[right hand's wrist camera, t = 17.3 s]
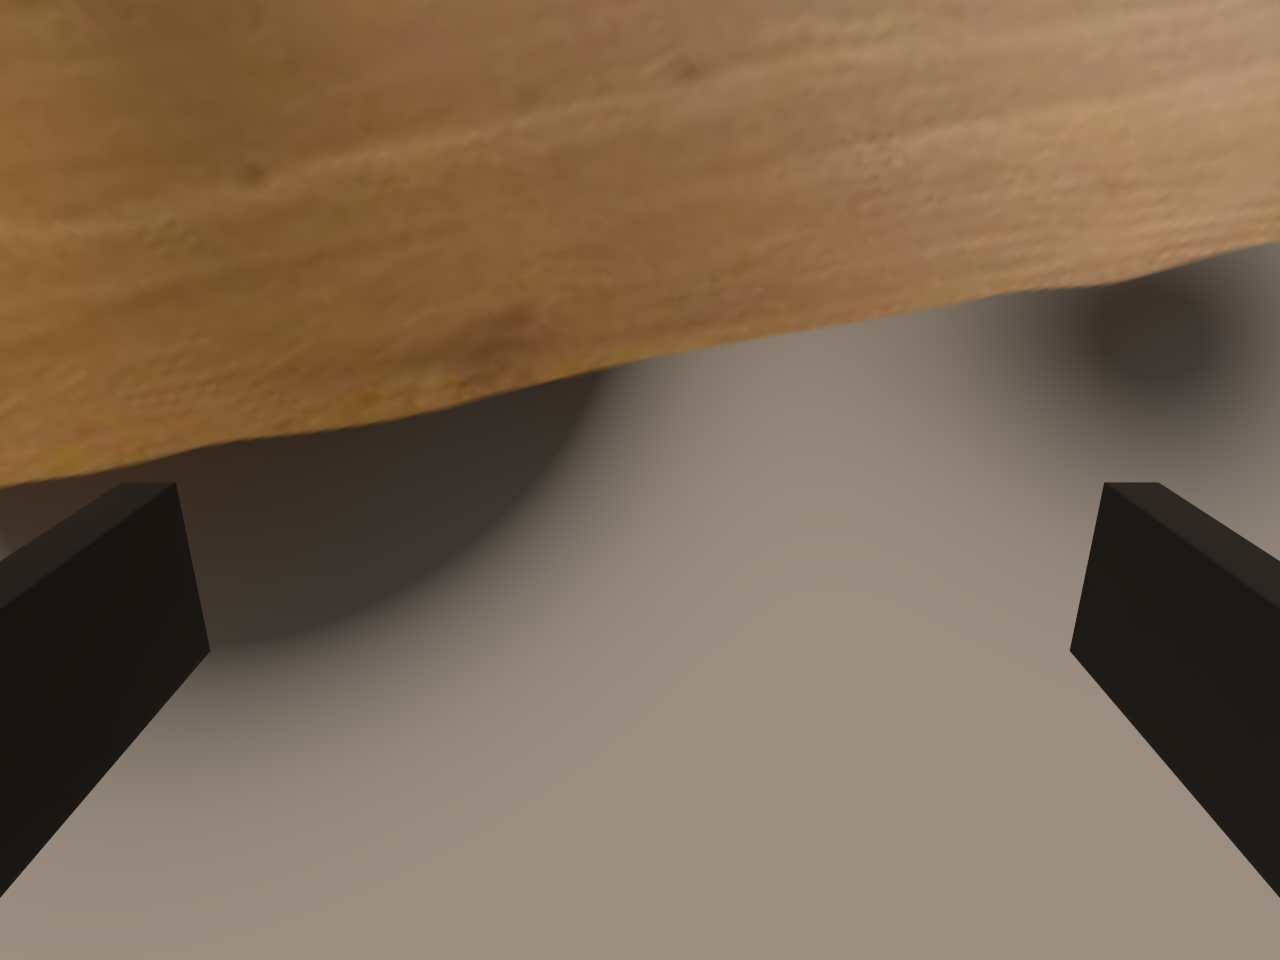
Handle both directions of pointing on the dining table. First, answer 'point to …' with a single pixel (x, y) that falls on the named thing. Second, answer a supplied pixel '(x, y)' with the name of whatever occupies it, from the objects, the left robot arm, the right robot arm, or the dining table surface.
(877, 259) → the dining table surface
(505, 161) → the dining table surface
